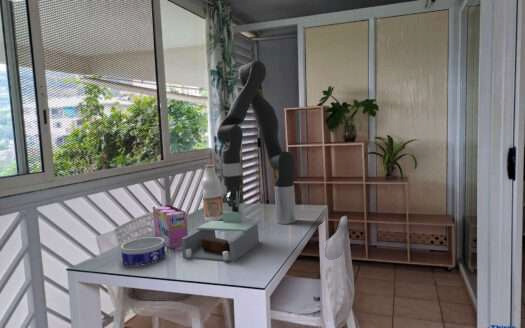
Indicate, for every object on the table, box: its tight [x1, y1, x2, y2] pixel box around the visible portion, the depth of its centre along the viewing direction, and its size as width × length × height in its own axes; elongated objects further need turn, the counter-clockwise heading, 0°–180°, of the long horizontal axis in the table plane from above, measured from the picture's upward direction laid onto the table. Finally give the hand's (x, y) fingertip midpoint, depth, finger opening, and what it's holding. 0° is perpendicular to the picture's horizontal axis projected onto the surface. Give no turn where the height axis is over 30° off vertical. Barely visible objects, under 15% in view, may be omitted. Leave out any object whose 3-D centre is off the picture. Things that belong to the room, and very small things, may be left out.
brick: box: [202, 237, 230, 255], centre depth 136 cm, size 11×4×5 cm, turn 54°
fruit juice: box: [201, 164, 224, 222], centre depth 188 cm, size 9×9×28 cm
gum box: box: [152, 203, 189, 249], centre depth 157 cm, size 24×8×14 cm, turn 31°
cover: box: [196, 211, 258, 232], centre depth 145 cm, size 10×21×5 cm, turn 68°
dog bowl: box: [120, 236, 166, 266], centre depth 137 cm, size 15×15×6 cm
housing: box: [181, 223, 260, 262], centre depth 140 cm, size 24×21×7 cm
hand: (235, 215), depth 153 cm, fingers closed
